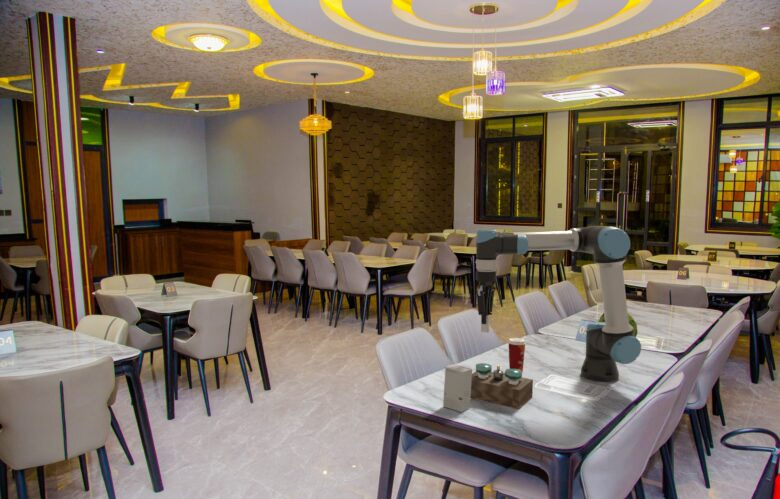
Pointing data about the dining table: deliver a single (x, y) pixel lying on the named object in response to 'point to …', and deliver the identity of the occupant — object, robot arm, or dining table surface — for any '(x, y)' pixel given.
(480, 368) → the knob
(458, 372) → the skincare box
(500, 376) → the potentiometer
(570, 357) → the dining table surface
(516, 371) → the green capped bottle
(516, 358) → the paper cup
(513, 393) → the mount
